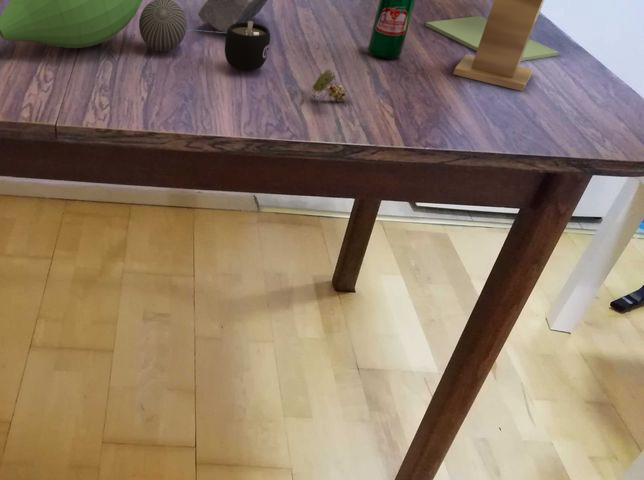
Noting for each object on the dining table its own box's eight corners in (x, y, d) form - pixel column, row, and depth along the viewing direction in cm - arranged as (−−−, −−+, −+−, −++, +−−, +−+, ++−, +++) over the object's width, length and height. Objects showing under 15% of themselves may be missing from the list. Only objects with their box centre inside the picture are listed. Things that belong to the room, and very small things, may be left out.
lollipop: (235, -32, 108) (214, 1, 114) (140, -8, 97) (122, 28, 103) (270, 18, 107) (247, 49, 113) (179, 48, 97) (158, 80, 103)
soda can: (366, 58, 106) (386, -29, 98) (367, 47, 110) (387, -38, 102) (400, 62, 105) (423, -24, 97) (400, 51, 109) (422, -33, 101)
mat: (557, 55, 112) (558, 51, 111) (502, 64, 107) (503, 60, 107) (477, 19, 123) (479, 15, 123) (425, 25, 119) (426, 22, 119)
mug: (266, 79, 97) (274, 23, 92) (222, 75, 98) (227, 19, 93) (265, 48, 106) (272, -4, 101) (224, 45, 106) (229, -8, 101)
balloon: (-19, 108, 105) (148, 19, 109) (-12, 100, 92) (178, 0, 96) (-74, 12, 99) (104, -77, 104) (-75, -11, 86) (130, -112, 91)
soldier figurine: (330, 77, 90) (352, 95, 93) (327, 73, 91) (349, 91, 93) (319, 90, 91) (341, 108, 94) (316, 86, 92) (338, 103, 94)
